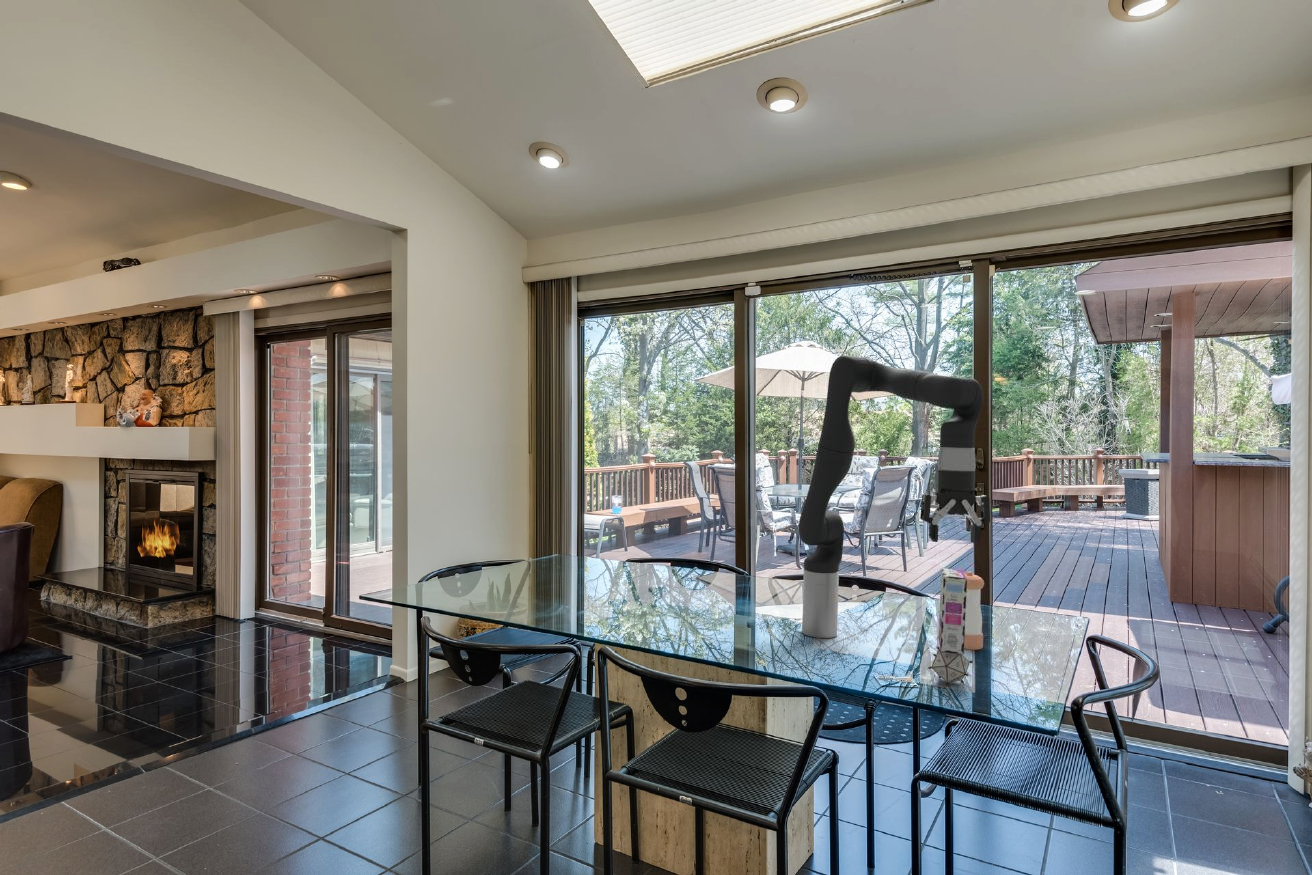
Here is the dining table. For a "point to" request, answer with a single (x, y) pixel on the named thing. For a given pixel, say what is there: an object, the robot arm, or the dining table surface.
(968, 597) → the pepper shaker
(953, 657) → the game die
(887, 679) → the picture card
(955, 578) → the candy bar box
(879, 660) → the dining table surface
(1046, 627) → the dining table surface
